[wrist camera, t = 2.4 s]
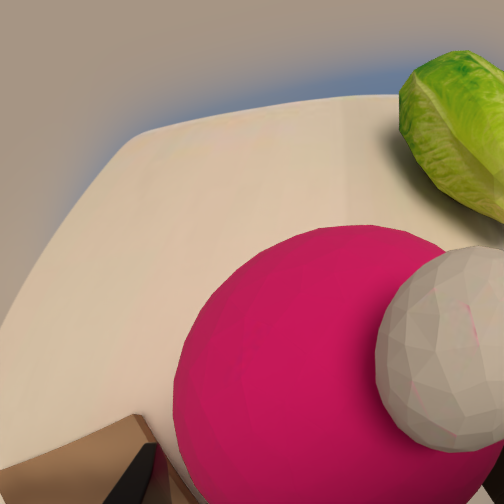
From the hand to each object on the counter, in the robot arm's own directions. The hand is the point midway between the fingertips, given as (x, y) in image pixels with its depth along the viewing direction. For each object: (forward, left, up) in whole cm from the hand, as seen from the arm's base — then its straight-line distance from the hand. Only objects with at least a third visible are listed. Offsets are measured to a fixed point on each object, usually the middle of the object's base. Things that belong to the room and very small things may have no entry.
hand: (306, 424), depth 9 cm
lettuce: (+7, -30, -12) cm, 33 cm away
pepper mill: (0, 0, -12) cm, 12 cm away
